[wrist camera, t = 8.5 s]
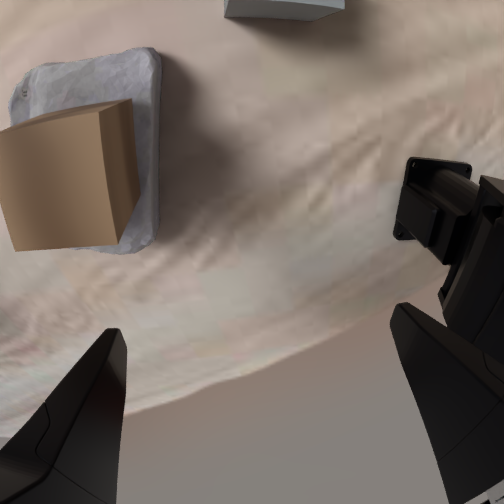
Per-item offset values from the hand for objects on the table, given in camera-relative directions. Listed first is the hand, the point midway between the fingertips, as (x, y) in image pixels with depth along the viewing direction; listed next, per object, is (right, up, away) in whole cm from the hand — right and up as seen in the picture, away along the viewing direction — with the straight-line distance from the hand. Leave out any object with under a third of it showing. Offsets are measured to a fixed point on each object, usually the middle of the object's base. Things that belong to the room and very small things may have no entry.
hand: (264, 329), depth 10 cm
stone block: (-11, +9, +8) cm, 16 cm away
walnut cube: (-8, +7, +4) cm, 12 cm away
